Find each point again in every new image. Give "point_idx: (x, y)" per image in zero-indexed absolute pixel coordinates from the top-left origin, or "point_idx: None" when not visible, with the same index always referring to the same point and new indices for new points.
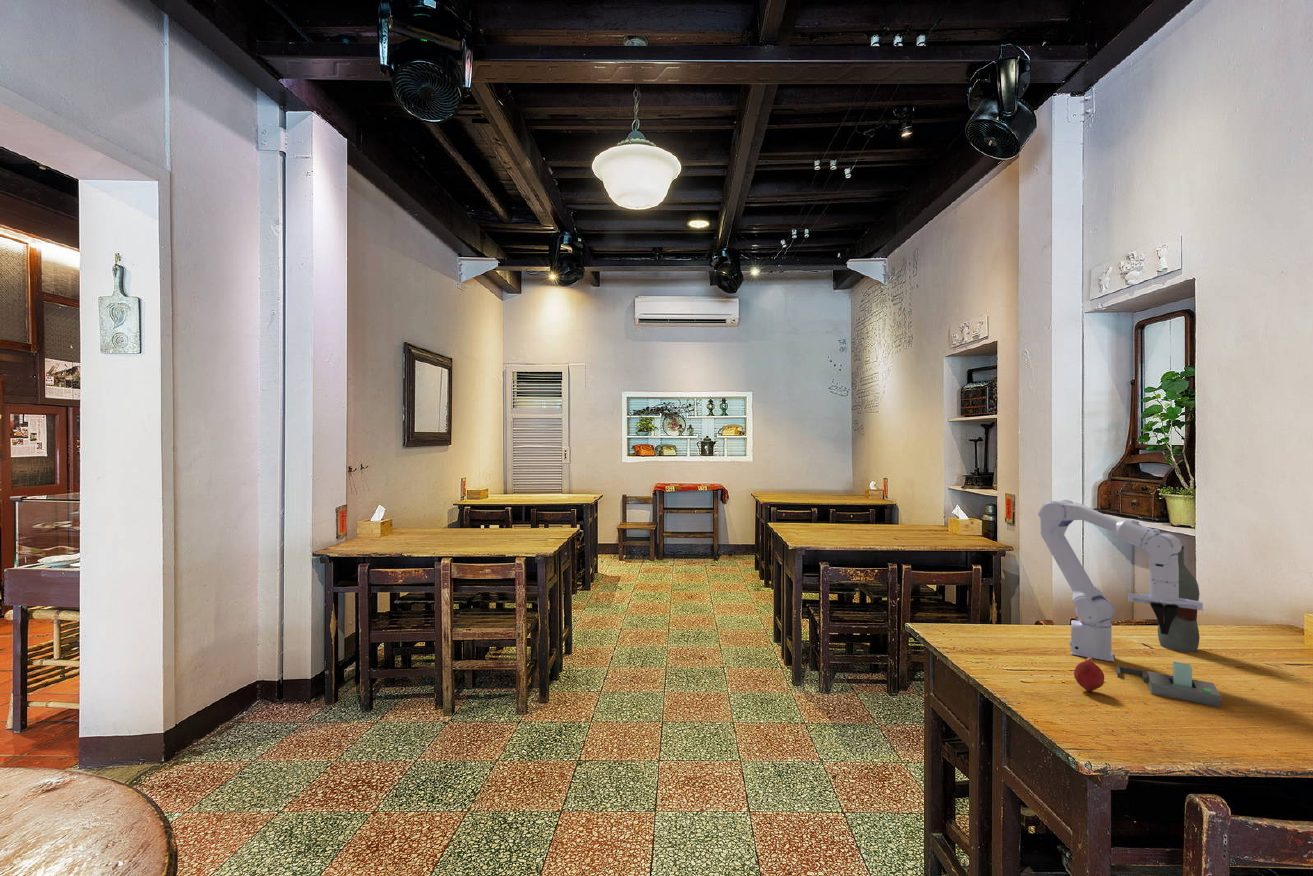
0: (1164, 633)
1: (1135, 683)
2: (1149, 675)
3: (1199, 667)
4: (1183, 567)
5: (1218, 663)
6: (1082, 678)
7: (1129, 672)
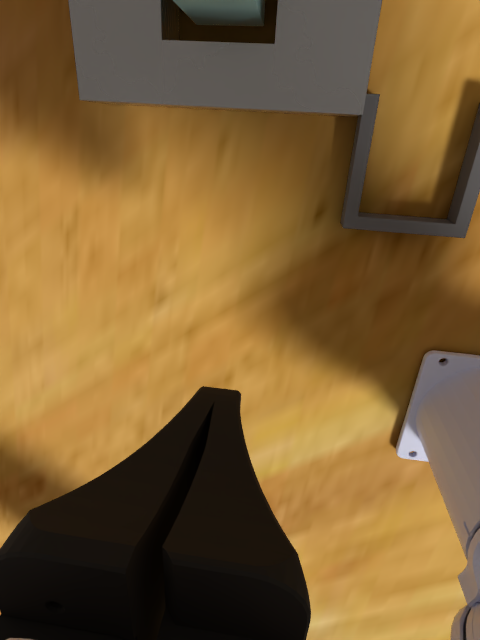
0: (220, 391)
1: (428, 37)
2: (376, 9)
3: (130, 435)
4: None
5: None
6: None
7: (405, 216)
